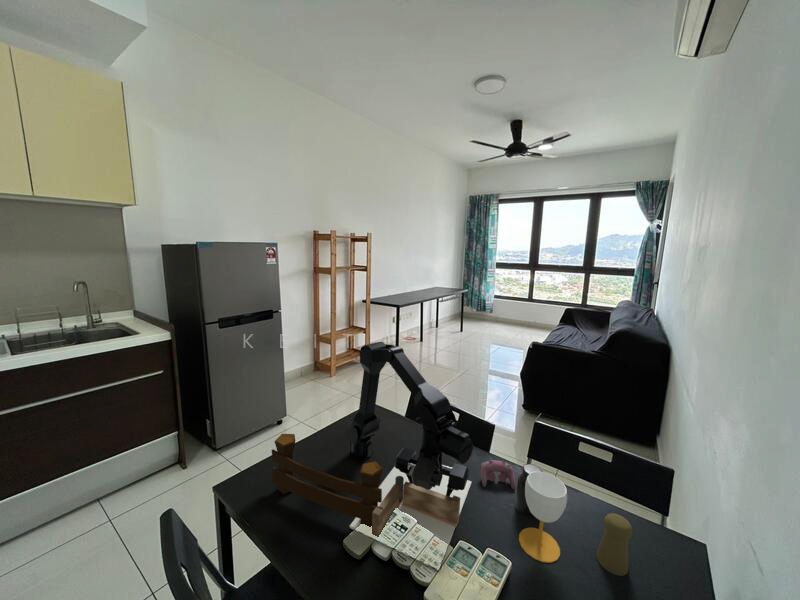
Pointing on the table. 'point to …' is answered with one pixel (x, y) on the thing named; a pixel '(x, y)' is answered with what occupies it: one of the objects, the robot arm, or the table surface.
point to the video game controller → (497, 466)
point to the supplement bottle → (520, 496)
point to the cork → (615, 544)
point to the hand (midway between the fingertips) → (429, 495)
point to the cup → (543, 515)
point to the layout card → (425, 519)
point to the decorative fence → (327, 483)
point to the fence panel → (432, 502)
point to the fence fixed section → (387, 506)
